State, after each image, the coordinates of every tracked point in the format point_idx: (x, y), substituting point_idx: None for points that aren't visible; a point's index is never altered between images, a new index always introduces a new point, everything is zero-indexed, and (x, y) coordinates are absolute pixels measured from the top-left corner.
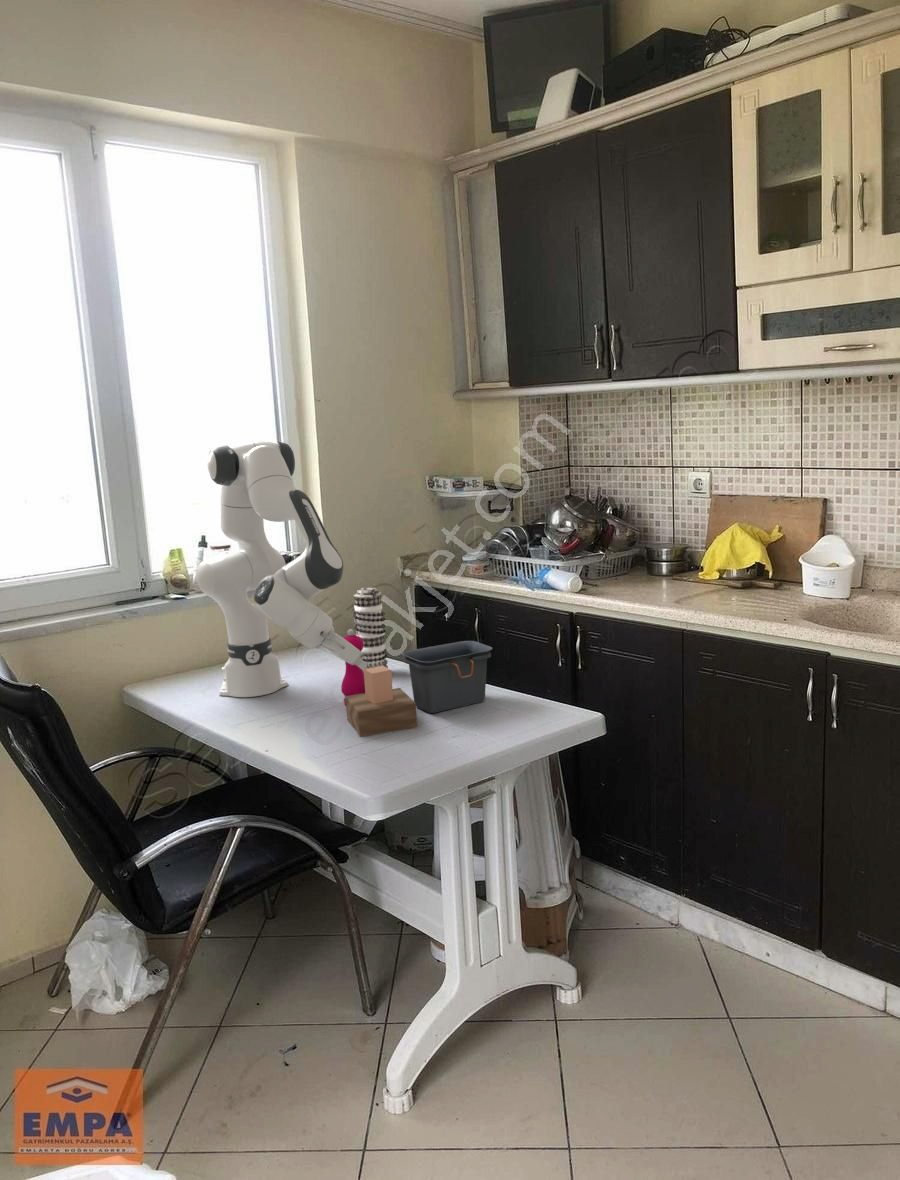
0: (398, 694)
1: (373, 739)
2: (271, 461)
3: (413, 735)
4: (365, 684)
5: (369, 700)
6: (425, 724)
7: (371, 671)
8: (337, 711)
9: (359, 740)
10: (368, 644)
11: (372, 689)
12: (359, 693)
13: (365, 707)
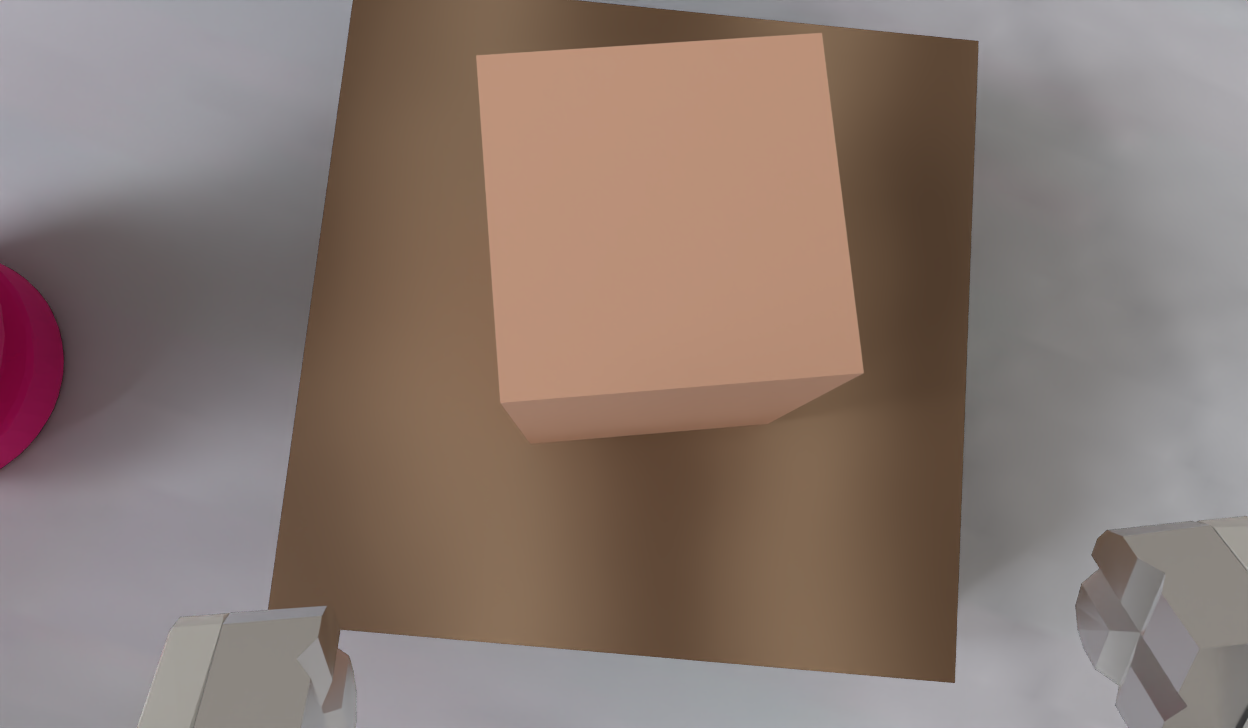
0: None
1: (996, 564)
2: None
3: (1070, 241)
4: (548, 425)
5: (636, 434)
6: None
7: (728, 334)
8: (36, 604)
9: (958, 681)
10: None
11: (780, 408)
12: (2, 351)
13: (834, 552)
